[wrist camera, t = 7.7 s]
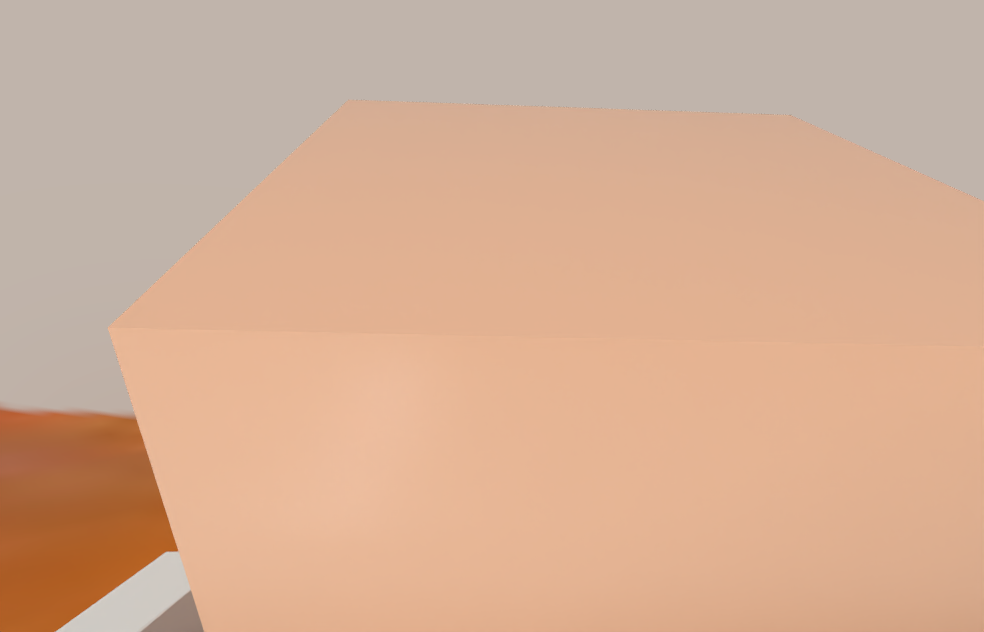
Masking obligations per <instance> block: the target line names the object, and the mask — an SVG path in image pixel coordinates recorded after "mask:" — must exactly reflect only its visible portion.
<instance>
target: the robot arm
mask: <svg viewBox="0 0 984 632" xmlns="http://www.w3.org/2000/svg"><path fill="white" fill-rule="evenodd" d="M56 632H204V630H203V626H202V623H201V620H200V617H199V614H198V611H197V607H196V604H195V601H194V598H193V595H192V592H191V589H190V585H189V582H188V579H187V576H186V573H185V570H184V566H183V563H182V560H181V557H180V554H179V551H178V552H165V553H164V554H163V555H161V556H160V557H158V558H157V559H156V560H154V561H153V562H151V563H150V564H149V565H147V566H146V567H145V568H143V569H142V570H140V571H139V572H138V573H136V574H135V575H133V576H132V577H131V578H129V579H128V580H127V581H125V582H124V583H122V584H121V585H120V586H118V587H117V588H115V589H114V590H113V591H111V592H110V593H109V594H107V595H106V596H104V597H103V598H102V599H100V600H99V601H97V602H96V603H95V604H93V605H92V606H91V607H89V608H88V609H86V610H85V611H84V612H82V613H81V614H79V615H78V616H77V617H75V618H74V619H72V620H71V621H70V622H68V623H67V624H66V625H64V626H63V627H61V628H60V629H59V630H57V631H56Z"/></svg>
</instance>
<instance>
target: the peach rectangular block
mask: <svg viewBox="0 0 984 632" xmlns="http://www.w3.org/2000/svg"><path fill="white" fill-rule="evenodd" d="M108 330H109V333H110V336H111V340H112V342H113V346H114V349H115V352H116V355H117V358H118V362H119V364H120V368H121V371H122V374H123V377H124V380H125V384H126V387H127V390H128V393H129V396H130V399H131V403H132V406H133V409H134V412H135V415H136V418H137V421H138V425H139V428H140V431H141V434H142V437H143V440H144V444H145V447H146V450H147V453H148V456H149V459H150V462H151V466H152V469H153V472H154V475H155V478H156V481H157V485H158V488H159V491H160V494H161V497H162V500H163V503H164V507H165V510H166V513H167V516H168V519H169V522H170V526H171V529H172V532H173V535H174V538H175V541H176V544H177V548H178V551H179V554H180V557H181V560H182V563H183V566H184V570H185V573H186V576H187V579H188V582H189V585H190V589H191V592H192V595H193V598H194V601H195V604H196V607H197V611H198V614H199V617H200V620H201V623H202V626H203V630H204V632H984V201H982V200H980V199H978V198H975V197H973V196H971V195H968V194H966V193H964V192H962V191H960V190H957V189H955V188H953V187H951V186H948V185H946V184H944V183H942V182H939V181H937V180H935V179H933V178H930V177H928V176H926V175H924V174H921V173H919V172H917V171H915V170H912V169H910V168H908V167H906V166H904V165H901V164H899V163H897V162H895V161H892V160H890V159H888V158H886V157H883V156H881V155H879V154H876V153H874V152H872V151H870V150H868V149H865V148H863V147H861V146H858V145H856V144H854V143H852V142H849V141H847V140H845V139H843V138H841V137H838V136H836V135H834V134H832V133H829V132H827V131H825V130H822V129H820V128H818V127H816V126H814V125H812V124H809V123H807V122H805V121H803V120H800V119H798V118H796V117H793V116H791V115H772V114H743V113H741V114H740V113H714V112H685V111H684V112H683V111H657V110H656V111H654V110H626V109H599V108H569V107H542V106H541V107H538V106H513V105H511V106H510V105H484V104H454V103H425V102H398V101H369V100H348V101H347V102H346V103H344V104H343V105H342V106H341V108H340V109H338V110H337V111H336V112H335V113H334V114H333V115H332V116H331V117H330V118H329V119H328V120H327V121H326V122H324V123H323V124H322V125H321V126H320V127H319V128H318V129H317V130H316V131H315V132H314V133H313V134H312V135H311V136H310V137H309V138H308V139H307V140H305V141H304V142H303V143H302V144H301V145H300V146H299V147H298V148H297V149H296V150H295V151H294V152H293V153H292V154H291V155H290V156H289V157H287V158H286V159H285V160H284V161H283V162H282V163H281V164H280V165H279V166H278V167H277V168H276V169H275V170H274V171H273V172H272V173H271V174H270V175H268V176H267V177H266V178H265V179H264V180H263V181H262V182H261V183H260V184H259V185H258V186H257V187H256V188H255V189H254V190H253V191H252V192H251V193H249V194H248V195H247V196H246V197H245V198H244V199H243V200H242V201H241V202H240V203H239V204H238V205H237V206H236V207H235V208H234V209H233V210H232V211H230V212H229V213H228V214H227V215H226V216H225V217H224V218H223V219H222V220H221V221H220V222H219V223H218V224H217V225H216V226H215V227H214V228H212V229H211V230H210V231H209V232H208V233H207V234H206V235H205V236H204V237H203V238H202V239H201V240H200V241H199V242H198V243H197V244H196V245H195V246H193V248H191V249H190V250H189V251H188V252H187V253H186V254H185V255H184V256H183V257H182V258H181V259H180V260H179V261H178V262H177V263H176V264H175V265H173V266H172V267H171V268H170V269H169V270H168V271H167V272H166V273H165V274H164V275H163V276H162V277H161V278H160V279H159V280H158V281H157V282H156V283H154V284H153V285H152V286H151V287H150V288H149V289H148V290H147V291H146V292H145V293H144V294H143V295H142V296H141V297H140V298H139V299H138V300H136V301H135V302H134V303H133V304H132V305H131V306H130V307H129V308H128V309H127V310H126V311H125V312H124V313H123V314H122V315H121V316H120V317H118V318H117V319H116V320H115V321H114V322H113V323H112V324H111V325H110V326H109V327H108Z"/></svg>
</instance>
